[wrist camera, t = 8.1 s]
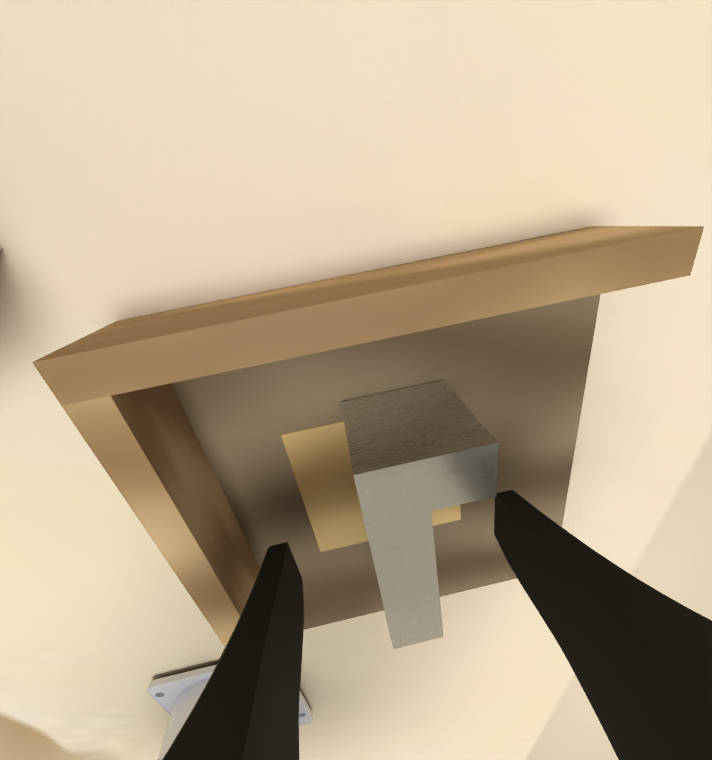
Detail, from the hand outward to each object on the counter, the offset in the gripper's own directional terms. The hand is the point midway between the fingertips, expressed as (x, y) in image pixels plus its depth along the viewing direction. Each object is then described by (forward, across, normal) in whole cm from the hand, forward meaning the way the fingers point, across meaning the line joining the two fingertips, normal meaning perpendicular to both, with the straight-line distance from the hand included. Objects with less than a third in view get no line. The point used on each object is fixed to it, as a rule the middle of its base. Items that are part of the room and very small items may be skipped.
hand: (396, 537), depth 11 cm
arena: (+4, -1, +2) cm, 4 cm away
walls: (+4, -1, +2) cm, 4 cm away
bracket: (+3, -1, +1) cm, 3 cm away
